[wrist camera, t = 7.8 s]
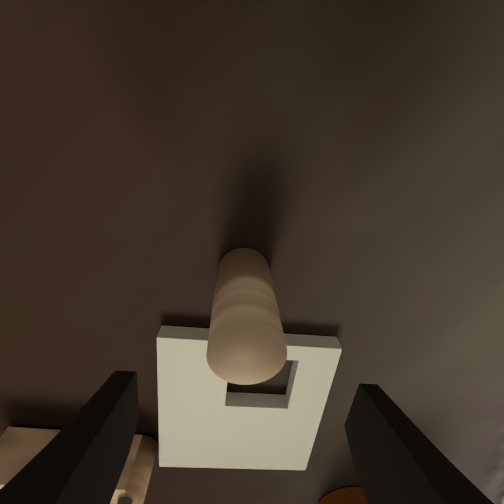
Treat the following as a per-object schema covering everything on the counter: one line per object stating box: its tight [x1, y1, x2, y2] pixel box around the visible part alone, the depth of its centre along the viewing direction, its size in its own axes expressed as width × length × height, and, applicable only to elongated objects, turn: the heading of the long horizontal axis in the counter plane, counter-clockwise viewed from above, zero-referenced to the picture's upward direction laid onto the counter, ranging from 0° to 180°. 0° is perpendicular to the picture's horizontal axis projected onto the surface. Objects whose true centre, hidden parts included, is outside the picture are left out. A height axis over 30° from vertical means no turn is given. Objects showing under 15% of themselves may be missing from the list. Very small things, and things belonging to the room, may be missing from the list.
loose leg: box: [206, 248, 287, 385], centre depth 15 cm, size 3×3×7 cm
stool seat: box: [157, 325, 342, 470], centre depth 22 cm, size 13×12×1 cm
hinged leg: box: [0, 427, 158, 504], centre depth 21 cm, size 11×2×5 cm, turn 81°
